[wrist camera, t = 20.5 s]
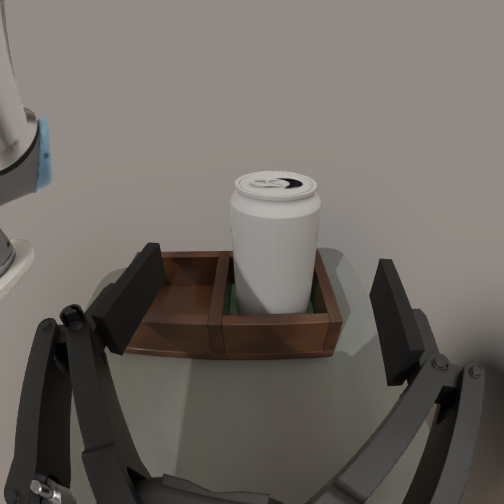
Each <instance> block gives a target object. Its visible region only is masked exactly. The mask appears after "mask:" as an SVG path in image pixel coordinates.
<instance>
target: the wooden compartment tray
mask: <svg viewBox="0 0 504 504" xmlns="http://www.w3.org/2000/svg"><path fill="white" fill-rule="evenodd" d="M139 253H140V252H138V253H137V254H136V256H135V258H136V257H137V256H138V254H139ZM161 255H162V259H163V264H164V268H165V273H166V277H167V280H166V281H165V283H164V285H163V286H162V288H161V289H160V291H159V293H158V294H157V296H156V298H155V299H154V301H153V303H152V304H151V306H150V308H149V309H148V311H147V313H146V314H145V316H144V318H143V320H142V321H141V323H140V325H139V326H138V328H137V330H136V332H135V333H134V335H133V337H132V339H131V340H130V342H129V344H128V346H127V348H126V349H125V351H124V352H126V353H135V354H144V355H154V356H166V357H180V358H199V359H289V358H308V357H322V356H332V355H333V352H334V349H335V346H336V343H337V339H338V336H339V333H340V330H341V326H342V323H343V320H342V317H341V313H340V310H339V307H338V304H337V301H336V298H335V295H334V292H333V289H332V286H331V284H330V281H329V278H328V275H327V272H326V269H325V266H324V264H323V261H322V258H321V255H320V253H319V250H316V256H315V264H314V272H313V279H312V286H311V293H310V300H309V306H308V310H307V313H306V314H292V315H240V314H239V312H238V310H237V302H236V288H235V274H234V258H233V251H193V252H192V251H190V252H161ZM135 258H134V259H135ZM134 259H133V260H134ZM132 262H133V261H132Z"/></svg>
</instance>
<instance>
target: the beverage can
mask: <svg viewBox="0 0 504 504" xmlns="http://www.w3.org/2000/svg"><path fill="white" fill-rule="evenodd" d="M235 189H236V190H235V192H234V194H233V195H232V197H231V199H230V205H231V207H230V208H231V225H232V241H233V258H234V274H235V288H236V302H237V310H238V312H239V314H240V315H292V314H306V313H307V310H308V306H309V300H310V293H311V286H312V279H313V272H314V264H315V256H316V248H317V239H318V230H319V220H320V210H321V201H320V198H319V196H318V195H317V193H316V190H317V184H316V182H315V181H314V180H312V179H311V178H309V177H307V176H304V175H301V174H297V173H291V172H284V171H263V172H255V173H251V174H247V175H244V176H242V177H240V178H238V179H237V180H236V181H235Z"/></svg>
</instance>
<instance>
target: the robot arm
mask: <svg viewBox="0 0 504 504" xmlns="http://www.w3.org/2000/svg"><path fill="white" fill-rule="evenodd" d="M51 181H52V164H51V153H50V142H49V127H48V120H47V119H38V120H37V119H36V116H35V114H34V113H33V112H32V111H31V110H29V109H27V108H24V107H23V106H22V103H21V99H20V96H19V92H18V88H17V84H16V80H15V75H14V71H13V66H12V61H11V56H10V50H9V44H8V36H7V29H6V19H5V6H4V0H0V206H1V205H3V204H5V203H7V202H10V201H12V200H14V199H17V198H19V197H22V196H25V195H27V194H30V193H35V192H37V190H39V189H41V188H44V187H46V186H48V185H49V184H50V183H51ZM15 257H16V252H15V250H14V247H13V245H12V243H11V242H10V241H9V239H8V238H7V237H6V235H5V234H4V233H3V231H2V230H1V229H0V278H1V277H2V276H3V275H4V274H5V273H6V272H7V270H8V269H9V268H10V267H11V265H12V264H13V262H14V260H15ZM166 280H167V277H166V273H165V268H164V264H163V259H162V255H161V250H160V245H159V243H148V244H147V245H146V246H145V247H144V248H143V250H142V251H141V252H140V253H139V254H138V256H137V257H136V258H135V259H134V260H133V262H132V263H131V264H130V265H129V267H128V268H127V269H126V270H125V271H124V273H123V274H122V275H121V276H120V278H119V279H118V280H117V282H116V283H111V284H109V285H108V286H106V287H105V288H104V289H103V290H102V291H101V293H100V294H99V295H98V297H97V298H96V300H94V302H93V303H92V304H91V306H90V307H89V308H88V310H87V311H86V312H85V314H84V313H83V311H82V309H81V307H80V306H79V305H76V304H73V305H69V306H67V307H66V308H64V309H63V310H62V312H61V313H60V319H61V321H62V322H63V324H64V325H58V324H57V323H56V321H55V319H53V318H47V319H44V320H43V321H42V322H41V323H40V324H39V325H38V327H37V330H36V333H35V337H34V341H33V344H32V348H31V351H30V355H29V359H28V363H27V367H26V372H25V377H24V382H23V386H22V392H21V398H20V404H19V410H18V418H17V427H16V437H15V452H14V458H13V461H12V464H11V468H10V471H9V474H8V478H7V481H6V485H5V488H4V497H5V501H6V502H7V504H77V501H76V499H75V497H74V496H73V495H72V493H71V491H70V481H71V465H70V413H71V396H72V390H73V396H74V401H75V407H76V412H77V417H78V421H79V426H80V430H81V434H82V438H83V442H84V446H85V451H83V452H82V460H83V464H84V467H85V470H86V473H87V476H88V479H89V482H90V485H91V488H92V491H93V494H94V496H95V499H96V501H97V504H284V503H282V502H281V501H278V500H276V499H273V498H270V497H269V495H270V494H260V493H251V492H244V491H240V492H217V493H216V492H211V491H209V490H207V489H204V488H202V487H200V486H198V485H196V484H194V483H192V482H190V481H188V480H184V479H181V478H177V477H173V476H170V475H167V474H163V477H153V478H151V476H150V474H149V472H148V470H147V469H146V467H145V466H144V465H143V463H142V462H141V460H140V458H139V455H138V453H137V451H136V448H135V446H134V443H133V441H132V438H131V435H130V433H129V430H128V427H127V425H126V422H125V419H124V416H123V413H122V410H121V407H120V404H119V401H118V397H117V394H116V391H115V387H114V384H113V380H112V377H111V373H110V369H109V365H108V361H107V357H106V353H105V352H104V349H105V347H106V345H107V347H108V348H109V350H110V352H112V353H115V354H119V355H123V353H124V351H125V349H126V348H127V346H128V344H129V342H130V340H131V339H132V337H133V335H134V333H135V332H136V330H137V328H138V326H139V325H140V323H141V321H142V320H143V318H144V316H145V314H146V313H147V311H148V309H149V308H150V306H151V304H152V303H153V301H154V299H155V298H156V296H157V294H158V293H159V291H160V289H161V288H162V286H163V285H164V283H165V281H166ZM369 296H370V300H371V304H372V308H373V313H374V317H375V321H376V326H377V331H378V335H379V340H380V345H381V350H382V355H383V361H384V367H385V372H386V379H387V385H388V386H398V385H402V384H403V383H404V381H405V380H406V379H407V383H408V386H407V387H406V389H405V390H404V391H403V393H402V394H401V395H400V398H399V399H398V401H397V402H396V404H395V405H394V406H393V408H392V409H391V411H390V412H389V413H388V415H387V416H386V417H385V419H384V420H383V421H382V423H381V424H380V425H379V427H378V428H377V429H376V430H375V432H374V433H373V434H372V435H371V437H370V438H369V439H368V440H367V441H366V443H365V444H364V445H363V446H362V447H361V448H360V450H359V451H358V452H357V453H356V454H355V455H354V456H353V458H352V459H351V460H350V461H349V462H348V463H347V464H346V465H345V466H344V467H343V468H342V469H341V470H340V471H339V472H338V473H337V474H336V475H335V476H334V477H333V478H332V479H331V480H330V481H329V482H328V483H327V484H326V485H325V486H324V487H323V488H322V489H321V490H320V491H319V492H318V493H316V494H315V495H314V496H313V497H312V498H310V499H309V500H308V501H307V502H306V503H304V504H364V502H365V501H366V500H367V498H368V497H369V496H370V495H371V494H372V493H373V492H374V490H375V489H376V488H377V487H378V486H379V484H380V483H381V482H382V481H383V479H384V478H385V477H386V476H387V474H388V473H389V472H390V471H391V469H392V468H393V467H394V465H395V464H396V462H397V461H398V460H399V458H400V457H401V456H402V454H403V453H404V451H405V450H406V448H407V447H408V445H409V444H410V442H411V441H412V439H413V438H414V436H415V435H416V433H417V431H418V430H419V428H420V427H421V425H422V423H423V421H424V420H425V418H426V416H427V415H428V413H429V411H430V409H431V407H432V406H433V404H434V403H436V404H437V408H436V412H435V416H434V419H433V423H432V427H431V430H430V433H429V436H428V440H427V443H426V446H425V449H424V452H423V455H422V457H421V460H420V463H419V465H418V468H417V471H416V473H415V476H414V478H413V480H412V483H411V485H410V487H409V490H408V492H407V494H406V496H405V498H404V501H403V503H402V504H459V503H460V500H461V498H462V495H463V492H464V489H465V485H466V482H467V479H468V475H469V472H470V468H471V464H472V460H473V456H474V452H475V448H476V442H477V438H478V432H479V426H480V420H481V413H482V405H483V395H484V382H485V372H484V369H483V367H482V366H481V365H480V364H479V363H477V362H474V361H471V362H468V363H467V364H466V365H465V366H464V367H460V366H456V365H452V364H450V362H449V360H448V359H447V357H445V356H444V355H443V354H440V353H439V350H438V347H437V344H436V342H435V338H434V336H433V333H432V331H431V327H430V325H429V322H428V319H427V317H426V315H425V314H424V313H423V312H422V311H421V309H412V308H411V306H410V303H409V301H408V298H407V295H406V293H405V290H404V288H403V285H402V283H401V280H400V278H399V275H398V273H397V271H396V269H395V266H394V264H393V261H392V260H391V259H380V260H379V264H378V268H377V271H376V275H375V278H374V282H373V285H372V289H371V292H370V295H369Z"/></svg>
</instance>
